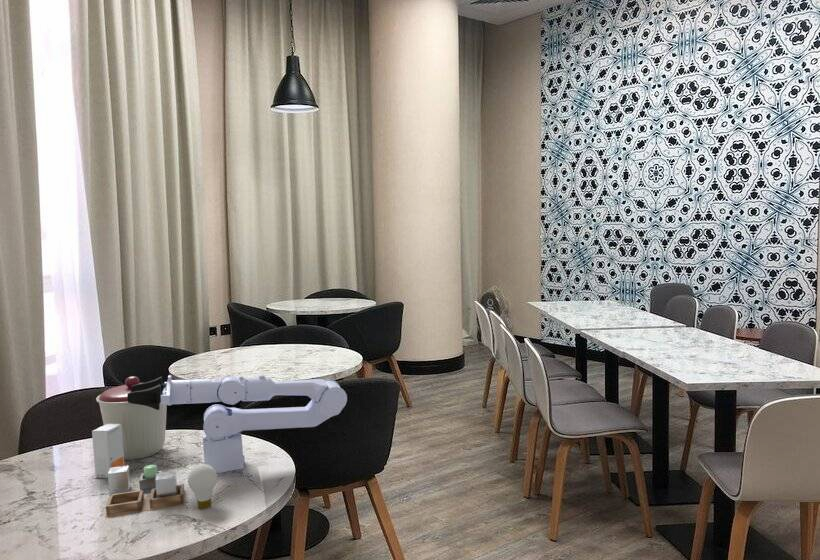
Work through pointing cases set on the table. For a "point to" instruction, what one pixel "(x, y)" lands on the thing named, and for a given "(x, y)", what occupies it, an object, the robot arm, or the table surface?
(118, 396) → the canister
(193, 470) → the light bulb
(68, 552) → the table surface
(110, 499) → the wooden divided tray
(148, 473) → the button
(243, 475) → the table surface
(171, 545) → the table surface
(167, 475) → the seated billet
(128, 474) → the billet
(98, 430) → the skincare box
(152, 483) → the button housing
